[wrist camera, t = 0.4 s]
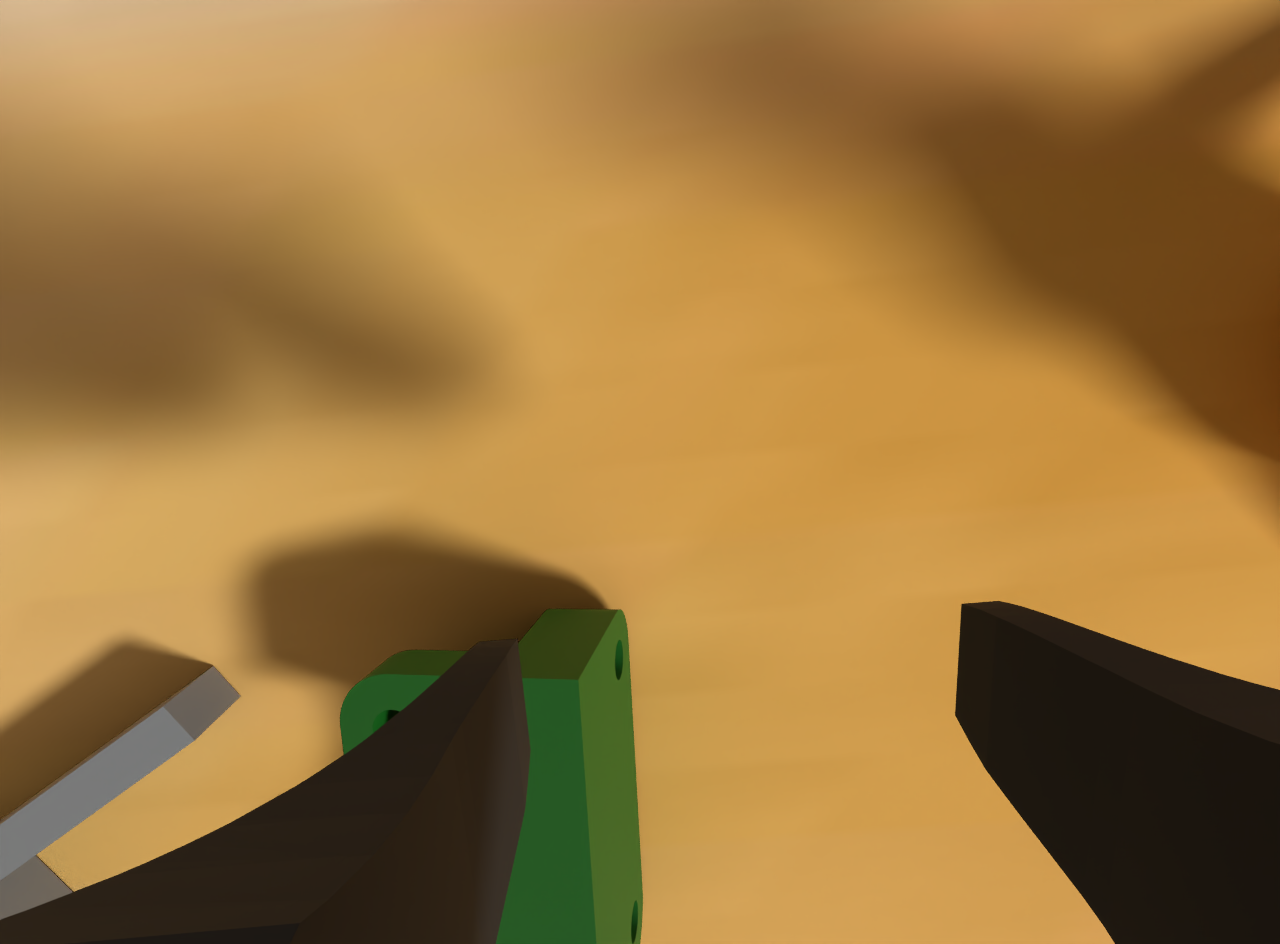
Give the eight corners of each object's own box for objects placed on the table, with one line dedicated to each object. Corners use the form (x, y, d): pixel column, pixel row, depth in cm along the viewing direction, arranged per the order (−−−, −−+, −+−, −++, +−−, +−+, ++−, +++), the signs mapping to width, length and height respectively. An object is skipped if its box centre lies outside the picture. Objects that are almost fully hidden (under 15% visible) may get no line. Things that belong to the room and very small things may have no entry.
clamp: (486, 614, 26) (342, 597, 17) (647, 616, 25) (581, 599, 16) (459, 990, 23) (270, 1199, 14) (640, 1011, 22) (555, 1250, 13)
